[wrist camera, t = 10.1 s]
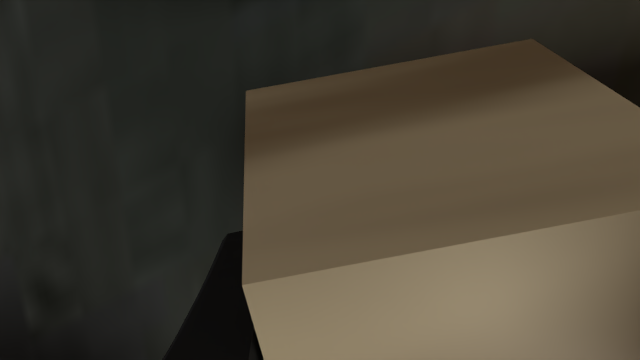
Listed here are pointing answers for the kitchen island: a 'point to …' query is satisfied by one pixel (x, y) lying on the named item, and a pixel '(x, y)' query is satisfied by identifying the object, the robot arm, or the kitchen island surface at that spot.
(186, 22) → the kitchen island surface
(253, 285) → the oak cube
